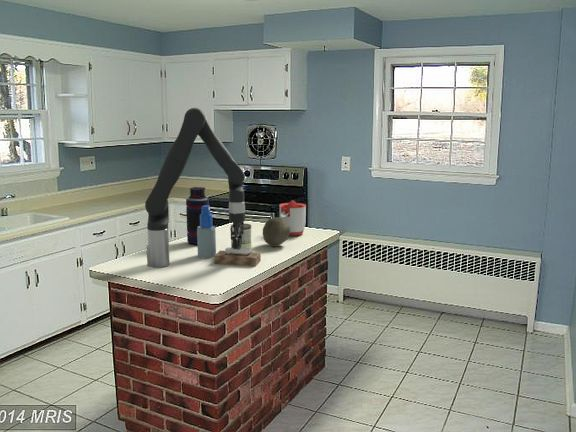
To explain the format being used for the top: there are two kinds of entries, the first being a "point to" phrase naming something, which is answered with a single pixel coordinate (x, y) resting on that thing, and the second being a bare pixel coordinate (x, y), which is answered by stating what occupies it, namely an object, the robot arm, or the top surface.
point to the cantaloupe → (276, 231)
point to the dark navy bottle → (195, 211)
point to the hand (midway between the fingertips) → (237, 246)
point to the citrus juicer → (294, 216)
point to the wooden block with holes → (237, 258)
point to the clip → (237, 249)
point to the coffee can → (245, 237)
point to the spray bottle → (206, 234)
